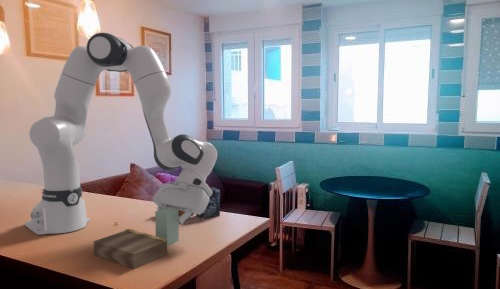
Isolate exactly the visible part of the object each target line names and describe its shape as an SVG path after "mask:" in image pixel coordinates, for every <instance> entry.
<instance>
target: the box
mask: <svg viewBox="0 0 500 289" xmlns="http://www.w3.org/2000/svg"><path fill="white" fill-rule="evenodd" d="M209 188H210V189H211V190H212V192H213V193H212V195H211V196H210V197H209V198H210V199H209V203H208V205H207V207H206V209H205V211H204V212H203V213H202V214H200V215H199V214H195V216H197V217H198V218H200V219H202V220H203V219H208V218H214V217H220V216H221V190H220V189H219V188H217V187H209Z"/></svg>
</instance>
